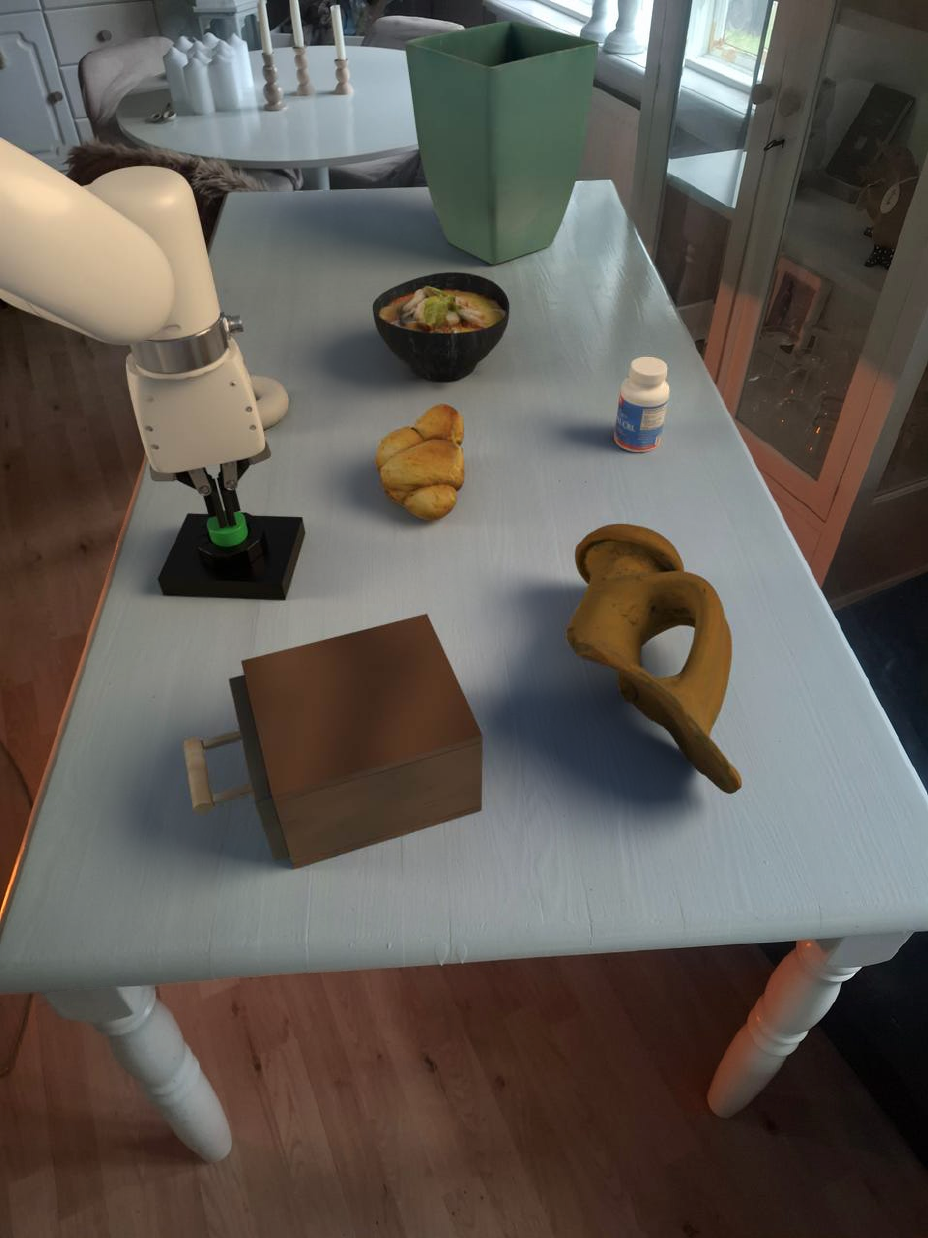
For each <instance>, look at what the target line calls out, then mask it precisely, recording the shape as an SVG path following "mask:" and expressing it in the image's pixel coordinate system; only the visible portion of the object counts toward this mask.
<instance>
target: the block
mask: <svg viewBox="0 0 928 1238" xmlns="http://www.w3.org/2000/svg"><path fill="white" fill-rule="evenodd" d="M239 512H240V513H242V514H243V515H244V517H245V521H246V525H247V529H248V535H247V537H246V539H245V540H244V541H243V542H241V543H240V544H237V545H234V546H230V547H221V546H217V545H215V544H214V543H213V542H212V541H211V538H210V535H209V531H208V528H207V521H208V519H209V515H208V513H192V512H190V513H189V512H188V513H186V515H185V518H184V520H183V522H182V524H181V526H180V529H179V531H178V533H177V535H176V537H175V540H174V542H173V543H172V546H171V548H170V550H169V552H168V555H167V557H166V559H165V561H164V563H163V566H162V568H161V569H160V572H159V574H158V576H157V579H156V580H157V582H158V585H159V588H160V591H161V593H162V596H167V597H168V596H169V597H189V598H190V597H196V598H221V599H245V600H246V599H247V600H250V599H251V600H274V601H286V600H287V597H288V593H289V590H290V587H291V584H292V579H293V576H294V572H295V570H296V566H297V563H298V560H299V556H300V553H301V549H302V547H303V543H304V540H305V536H306V529H305V523H304V517H302V516H283V515H282V516H281V515H256V514H255V515H254V514H251V513H249V512H244V511H242V512H241V511H239Z"/></svg>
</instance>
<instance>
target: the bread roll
mask: <svg viewBox="0 0 928 1238" xmlns="http://www.w3.org/2000/svg"><path fill="white" fill-rule="evenodd" d="M464 426H465V425H464V419H463V417H462V415H461V413H460V412H459V411H458V410H457V409H456V408H454V407H453V406H451V405H449V404H445V403H440V404H437V405H433V406H432V407H430V408H429V409H427V410H426V411H425V413H423V414H422V415H421V416H420V417H419V418H418V419H416V420H415V422H414V424H413V426H408V425H407V426H403V427H400V428H398V429H395V430H393V431H391V432H388V433H387V434H386V435H385V436H384V437H383V438H380V443H379V444H378V447H377V450H376V454H375V460H374V461H375V462H374V463H375V467H376V470H377V471H378V472H379V476H380V477H379V479H380V483H381V486H382V489H383V491H384V493H385V494H386V497H387V498H388V499H390V500H391V501H392V502H394V503H396V504H397V505H399V506H402V507H404V508H405V509H407V511H408V512H410V514H411V515H413V516H415V517H417V518H419V519H422V520H425V521H438V520H441V519H443V518H445V517H446V516H447V515H449V514H450V512H452V510H453V509H454V507H455V505H456V503H457V499H458V495H457V494H458V492H459V491H460V490H461V489H462V488H463V486H464V483H465V457H464V448H463V447H462V443H463V441H464V437H465V427H464Z"/></svg>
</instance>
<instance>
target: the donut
mask: <svg viewBox="0 0 928 1238" xmlns="http://www.w3.org/2000/svg"><path fill="white" fill-rule="evenodd" d="M249 377H250V381H251V385H252V388H253V392H254V395H255V399H256V402H257V407H258V411H259V414H260V418H261V422H262V427H263V431H264V430H266V429H269V428H271V427H273V426H275V425H276V424H278V423H279V422H280V421H281V420H282V419H284V417H285V415H286V414H287V412H288V410H289V404H290V402H289V401H290V397H289V394H288V392H287V390H286V389H285V387H284V386H283V385H282V384H281V383H279V382H278V381H277V380H275V379H273V378H270V377H267V376H264V375H254V374H252V375H249Z"/></svg>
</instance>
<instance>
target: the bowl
mask: <svg viewBox="0 0 928 1238" xmlns="http://www.w3.org/2000/svg"><path fill="white" fill-rule="evenodd" d="M510 307H511V306H510V300H509V298H508V296H507V294H506V292H505V291H504V290H503V289H502V288H501V286H499V285H498V284H497V283H495V282H494V281H493V280H491V279H488V278H487V277H483V276H482V275H477V274H473V273H468V272H458V271H447V272H438V273H437V272H436V273H432V274H428V275H424V276H420V277H419V276H418V277H416V278H413V279H410V280H408V281H405V282H402V283H400V284H398V285H395V286H392V287H391V288H389V289H387V290H385V291H384V292H382V293H381V294H380V295H378V296H377V298H375V300H374V301H373V304H372V314H373V320H374V323H375V327H376V329H377V332H378V334H379V336H380V337H381V339H382V340H383V342H384V344H385V345H386V346H387V348H388V349H389V351H391V352H392V353H393V354H394V355H395V356H396V357H397V358H398V359H399V360H401V361H402V362H403V363H404V364H407V365H408V366H409V368H410V370H411V371H412V373H413V374H414V375H415V376H416V377H419V378H421V379H424V380H426V381H429V382H436V383H449V382H455V381H459V380H462V379H464V378H466V377H468V376H469V375H471V374H472V373H473V372H474V371H475V368H476V367H477V365H478V364H479V363H480V362H482V361H483V360H484V359H485V358H486V357H488V355H489V354H491V352H492V351H493V350H494V348H495V347H496V346H497V345H498V344H499V342H500V341H501V340H502V338H503V337H504V334H505V331H506V329H507V327H508V324H509V319H510Z"/></svg>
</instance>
